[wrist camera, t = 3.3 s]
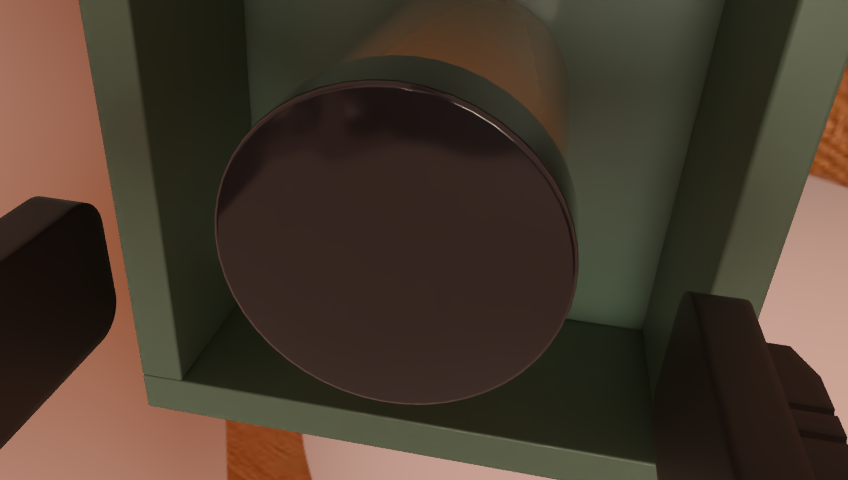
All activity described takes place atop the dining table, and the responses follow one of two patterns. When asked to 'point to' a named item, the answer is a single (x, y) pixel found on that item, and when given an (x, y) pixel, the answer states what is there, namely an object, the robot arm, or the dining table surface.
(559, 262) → the jar
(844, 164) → the dining table surface
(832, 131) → the dining table surface
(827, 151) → the dining table surface
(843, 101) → the dining table surface
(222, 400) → the cabinet
